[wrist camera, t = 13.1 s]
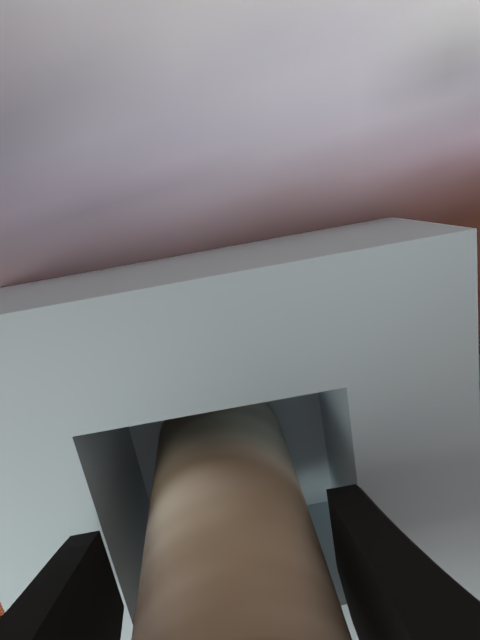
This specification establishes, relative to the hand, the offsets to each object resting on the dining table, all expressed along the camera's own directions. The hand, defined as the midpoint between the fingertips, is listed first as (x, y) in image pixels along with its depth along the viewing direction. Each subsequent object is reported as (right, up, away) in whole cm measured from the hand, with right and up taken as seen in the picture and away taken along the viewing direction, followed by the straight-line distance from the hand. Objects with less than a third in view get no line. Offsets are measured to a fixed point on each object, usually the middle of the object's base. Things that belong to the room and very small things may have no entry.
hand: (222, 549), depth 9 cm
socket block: (0, +1, +5) cm, 5 cm away
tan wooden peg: (0, +1, +4) cm, 4 cm away
